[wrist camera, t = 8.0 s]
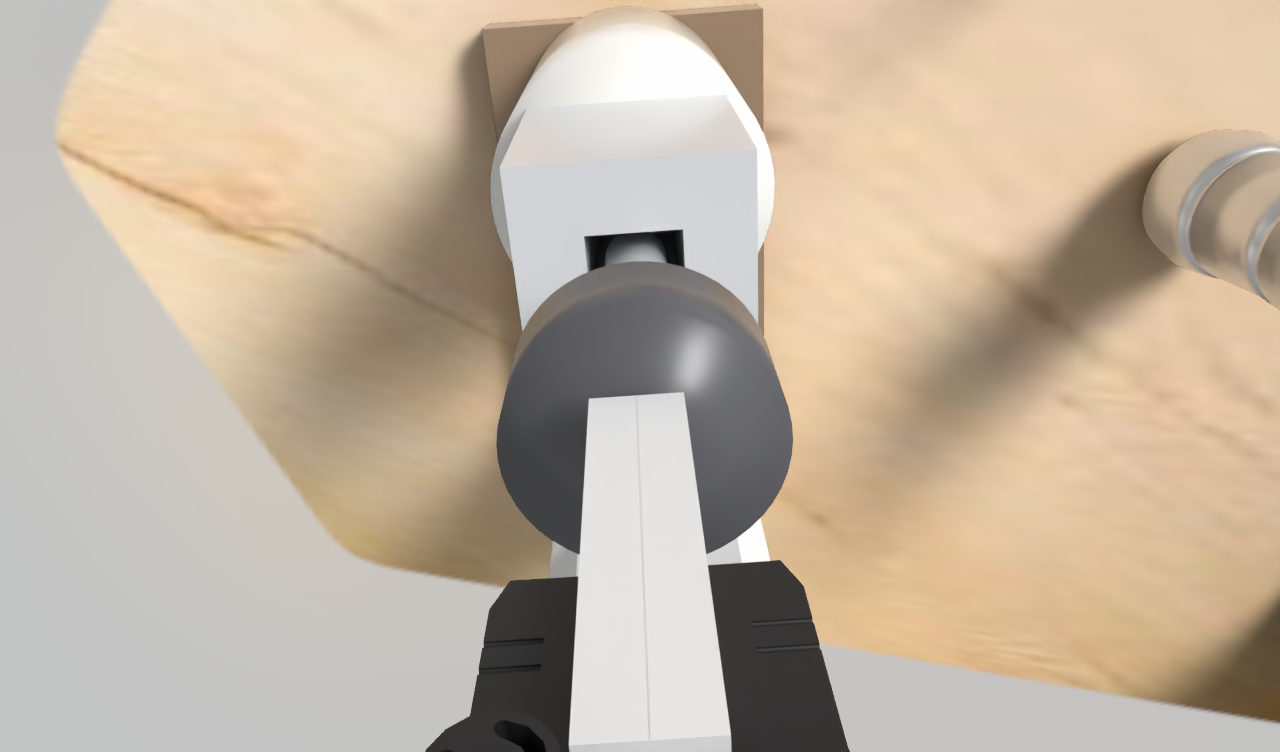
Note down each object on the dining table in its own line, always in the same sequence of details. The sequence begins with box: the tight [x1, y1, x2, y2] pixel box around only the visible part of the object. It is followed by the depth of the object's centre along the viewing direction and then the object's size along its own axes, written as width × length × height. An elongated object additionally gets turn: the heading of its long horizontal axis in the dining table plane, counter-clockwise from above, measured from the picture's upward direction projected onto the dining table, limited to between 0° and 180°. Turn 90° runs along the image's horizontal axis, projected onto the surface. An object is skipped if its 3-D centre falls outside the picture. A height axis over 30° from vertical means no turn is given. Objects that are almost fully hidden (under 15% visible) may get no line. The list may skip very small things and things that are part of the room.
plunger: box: [497, 232, 793, 555], centre depth 19 cm, size 5×5×9 cm
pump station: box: [482, 4, 775, 578], centre depth 36 cm, size 25×12×22 cm, turn 4°
